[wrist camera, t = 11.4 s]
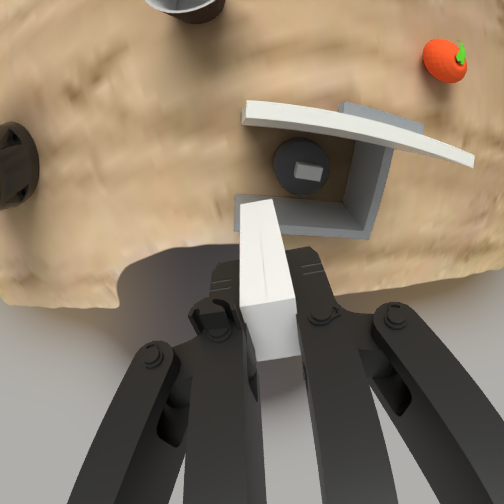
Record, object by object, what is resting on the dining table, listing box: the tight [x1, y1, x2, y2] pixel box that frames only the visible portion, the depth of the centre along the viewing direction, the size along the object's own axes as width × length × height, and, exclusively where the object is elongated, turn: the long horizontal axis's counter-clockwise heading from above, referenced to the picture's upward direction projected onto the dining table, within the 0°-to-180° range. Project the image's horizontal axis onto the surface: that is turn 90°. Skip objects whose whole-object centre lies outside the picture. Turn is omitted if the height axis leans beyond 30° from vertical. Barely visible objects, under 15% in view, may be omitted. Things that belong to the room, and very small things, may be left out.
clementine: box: [423, 39, 467, 83], centre depth 23 cm, size 8×7×7 cm
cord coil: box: [273, 138, 330, 195], centre depth 34 cm, size 7×7×5 cm
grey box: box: [234, 108, 394, 240], centre depth 32 cm, size 17×13×10 cm
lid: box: [241, 100, 475, 168], centre depth 19 cm, size 17×12×2 cm
